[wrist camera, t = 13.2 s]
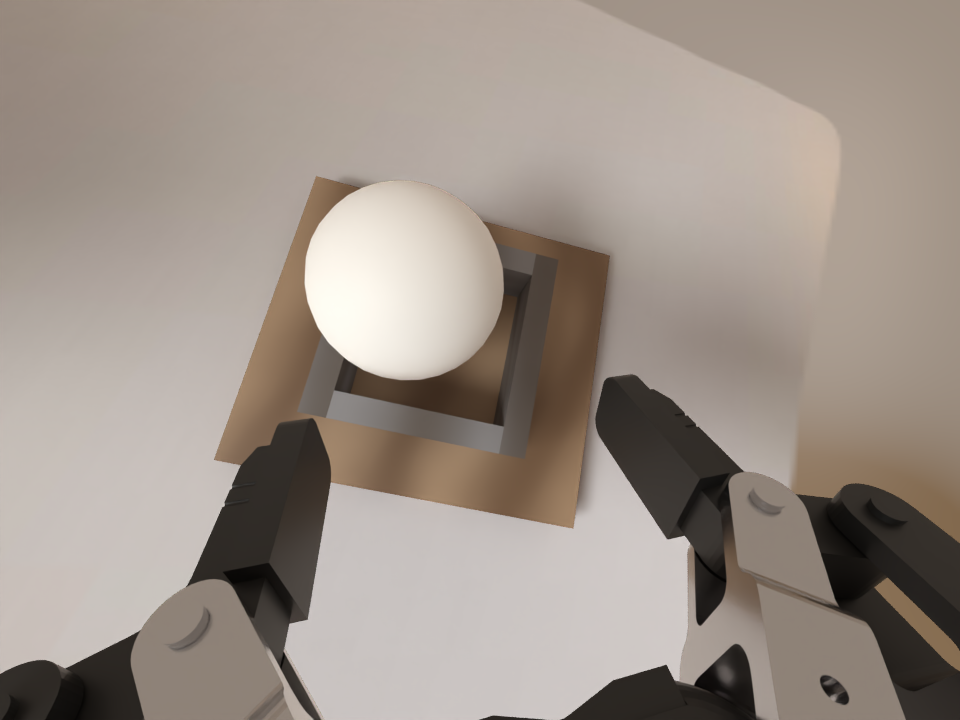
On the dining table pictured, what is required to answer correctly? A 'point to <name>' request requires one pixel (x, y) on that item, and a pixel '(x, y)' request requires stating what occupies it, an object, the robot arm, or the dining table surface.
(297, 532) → the robot arm
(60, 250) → the dining table surface
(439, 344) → the lightbulb
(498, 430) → the bulb holder
